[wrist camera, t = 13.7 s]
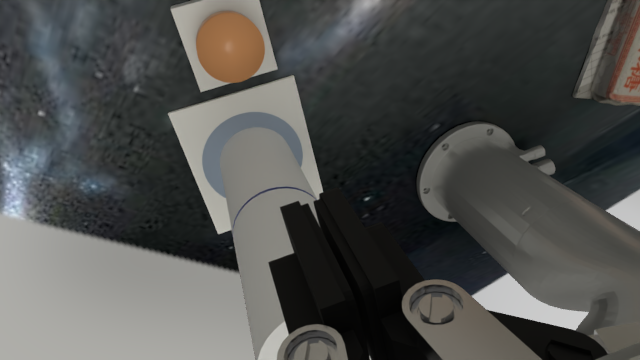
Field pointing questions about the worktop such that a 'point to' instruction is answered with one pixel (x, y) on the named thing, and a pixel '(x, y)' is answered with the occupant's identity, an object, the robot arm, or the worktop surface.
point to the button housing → (203, 6)
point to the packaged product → (613, 57)
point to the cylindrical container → (262, 223)
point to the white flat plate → (228, 119)
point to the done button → (229, 46)
